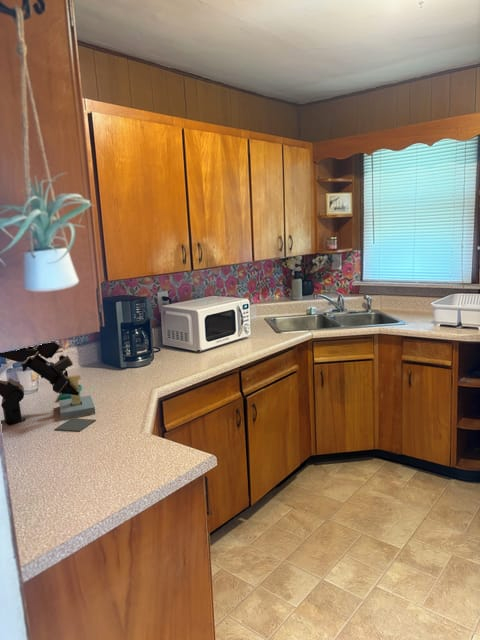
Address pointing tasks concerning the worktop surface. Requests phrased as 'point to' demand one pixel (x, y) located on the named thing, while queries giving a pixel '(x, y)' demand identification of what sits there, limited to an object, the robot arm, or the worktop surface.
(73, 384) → the brass key
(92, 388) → the worktop surface
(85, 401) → the block
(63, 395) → the digital multimeter
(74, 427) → the rubber mat
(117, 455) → the worktop surface
